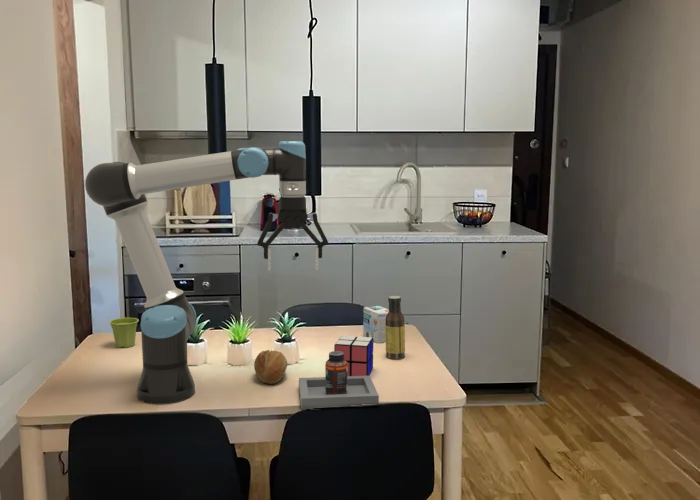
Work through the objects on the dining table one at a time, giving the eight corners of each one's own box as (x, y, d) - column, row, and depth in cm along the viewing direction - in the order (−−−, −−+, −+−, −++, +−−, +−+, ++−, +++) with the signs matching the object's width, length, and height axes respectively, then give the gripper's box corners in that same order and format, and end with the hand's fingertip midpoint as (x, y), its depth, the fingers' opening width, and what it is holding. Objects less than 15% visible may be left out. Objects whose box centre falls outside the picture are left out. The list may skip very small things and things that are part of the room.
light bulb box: (362, 336, 242) (362, 307, 240) (378, 334, 245) (378, 305, 243) (377, 343, 233) (377, 313, 231) (394, 341, 236) (394, 311, 234)
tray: (301, 409, 172) (301, 398, 172) (298, 388, 188) (298, 377, 188) (378, 406, 175) (378, 395, 174) (369, 385, 190) (369, 375, 190)
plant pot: (105, 345, 228) (104, 320, 227) (130, 340, 235) (129, 316, 234) (119, 351, 222) (118, 325, 221) (145, 345, 229) (144, 320, 228)
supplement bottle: (351, 392, 182) (352, 352, 181) (339, 399, 177) (340, 357, 176) (333, 388, 185) (333, 348, 184) (320, 394, 180) (321, 353, 179)
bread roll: (252, 387, 189) (252, 360, 188) (255, 370, 204) (255, 344, 203) (287, 386, 190) (287, 359, 189) (287, 369, 205) (287, 344, 203)
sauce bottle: (399, 353, 221) (400, 294, 219) (408, 358, 216) (409, 297, 213) (381, 355, 219) (382, 295, 216) (390, 361, 213) (391, 299, 210)
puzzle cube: (367, 379, 196) (367, 346, 195) (334, 377, 198) (334, 344, 197) (373, 368, 206) (373, 337, 204) (341, 366, 208) (341, 335, 206)
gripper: (247, 197, 186) (249, 272, 189) (337, 196, 189) (337, 271, 192) (248, 195, 193) (249, 268, 196) (335, 195, 196) (335, 266, 199)
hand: (293, 269), depth 194 cm, fingers open, 13 cm apart
